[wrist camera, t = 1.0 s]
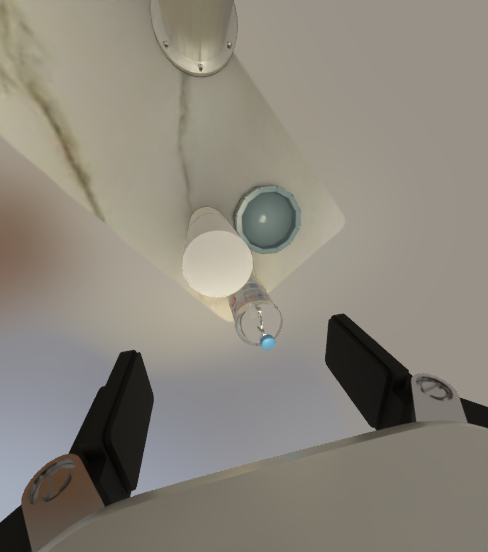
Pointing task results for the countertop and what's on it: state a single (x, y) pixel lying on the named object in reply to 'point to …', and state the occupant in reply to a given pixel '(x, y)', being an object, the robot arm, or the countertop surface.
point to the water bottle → (255, 314)
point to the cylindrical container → (215, 255)
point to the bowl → (267, 219)
